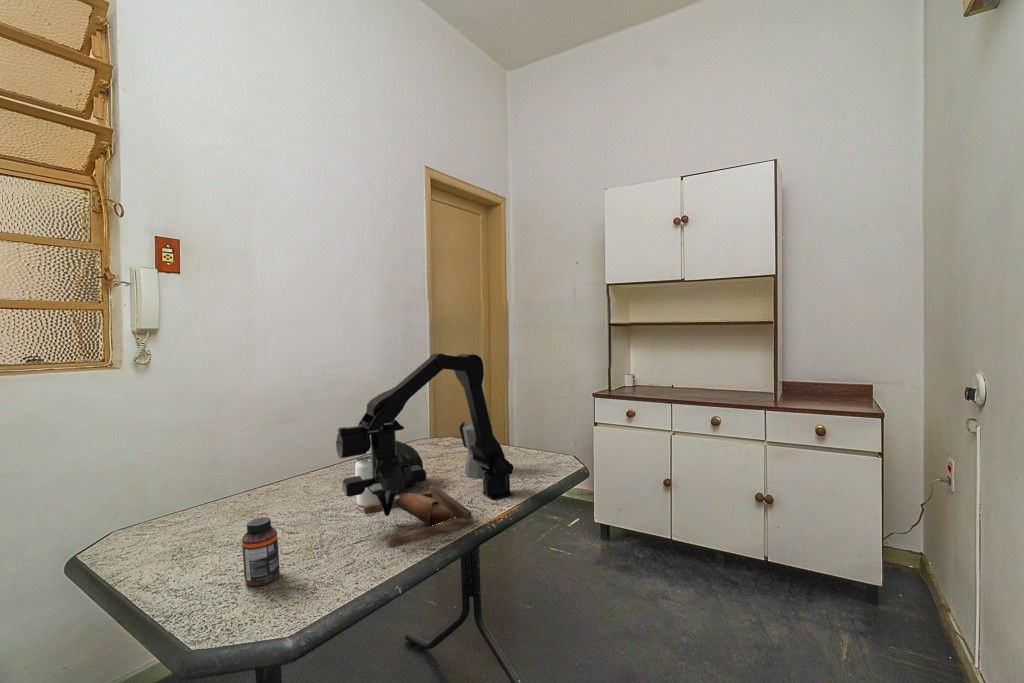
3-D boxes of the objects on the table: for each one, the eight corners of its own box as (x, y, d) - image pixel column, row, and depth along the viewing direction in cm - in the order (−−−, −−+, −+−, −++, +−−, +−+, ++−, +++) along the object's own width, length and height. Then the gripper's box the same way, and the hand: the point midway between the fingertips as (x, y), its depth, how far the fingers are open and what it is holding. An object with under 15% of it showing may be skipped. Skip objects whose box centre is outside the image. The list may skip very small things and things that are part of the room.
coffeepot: (504, 474, 149) (502, 417, 148) (481, 482, 142) (479, 422, 142) (473, 465, 160) (470, 412, 159) (450, 472, 153) (448, 416, 153)
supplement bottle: (253, 572, 93) (250, 515, 93) (284, 569, 94) (281, 513, 93) (238, 589, 87) (234, 528, 87) (272, 586, 88) (268, 525, 87)
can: (374, 507, 125) (372, 462, 125) (352, 506, 126) (349, 461, 126) (386, 498, 131) (383, 455, 131) (364, 497, 133) (362, 455, 132)
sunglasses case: (461, 516, 116) (447, 497, 114) (440, 538, 112) (426, 519, 110) (425, 498, 130) (413, 480, 128) (406, 517, 126) (392, 499, 124)
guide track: (436, 495, 132) (436, 484, 132) (473, 523, 112) (473, 511, 111) (363, 511, 122) (362, 500, 122) (389, 546, 102) (388, 533, 101)
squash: (433, 471, 137) (416, 427, 144) (382, 484, 128) (367, 437, 136) (421, 493, 146) (405, 451, 154) (373, 507, 138) (359, 462, 145)
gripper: (350, 465, 101) (353, 537, 102) (433, 451, 111) (436, 517, 111) (340, 454, 111) (343, 520, 111) (417, 442, 120) (420, 503, 121)
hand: (387, 515), depth 113 cm, fingers closed
